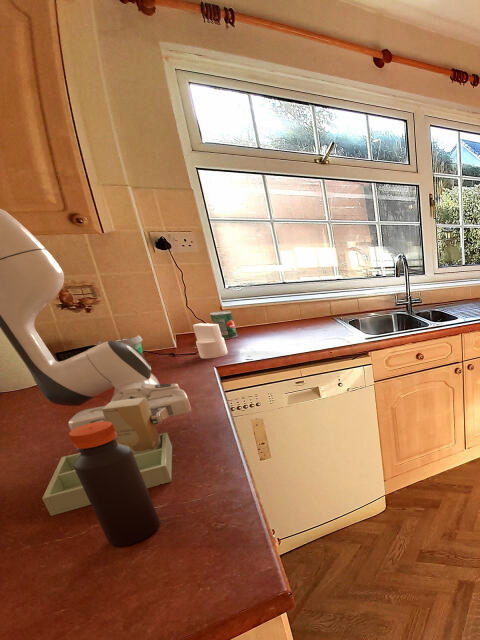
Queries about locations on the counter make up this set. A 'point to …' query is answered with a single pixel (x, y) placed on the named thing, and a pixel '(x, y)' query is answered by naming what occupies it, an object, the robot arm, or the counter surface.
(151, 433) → the cosmetic box
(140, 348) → the food container
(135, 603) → the counter surface
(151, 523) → the bottle
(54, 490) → the grid
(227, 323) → the canned tomato
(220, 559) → the counter surface
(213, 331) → the base with upright slab
